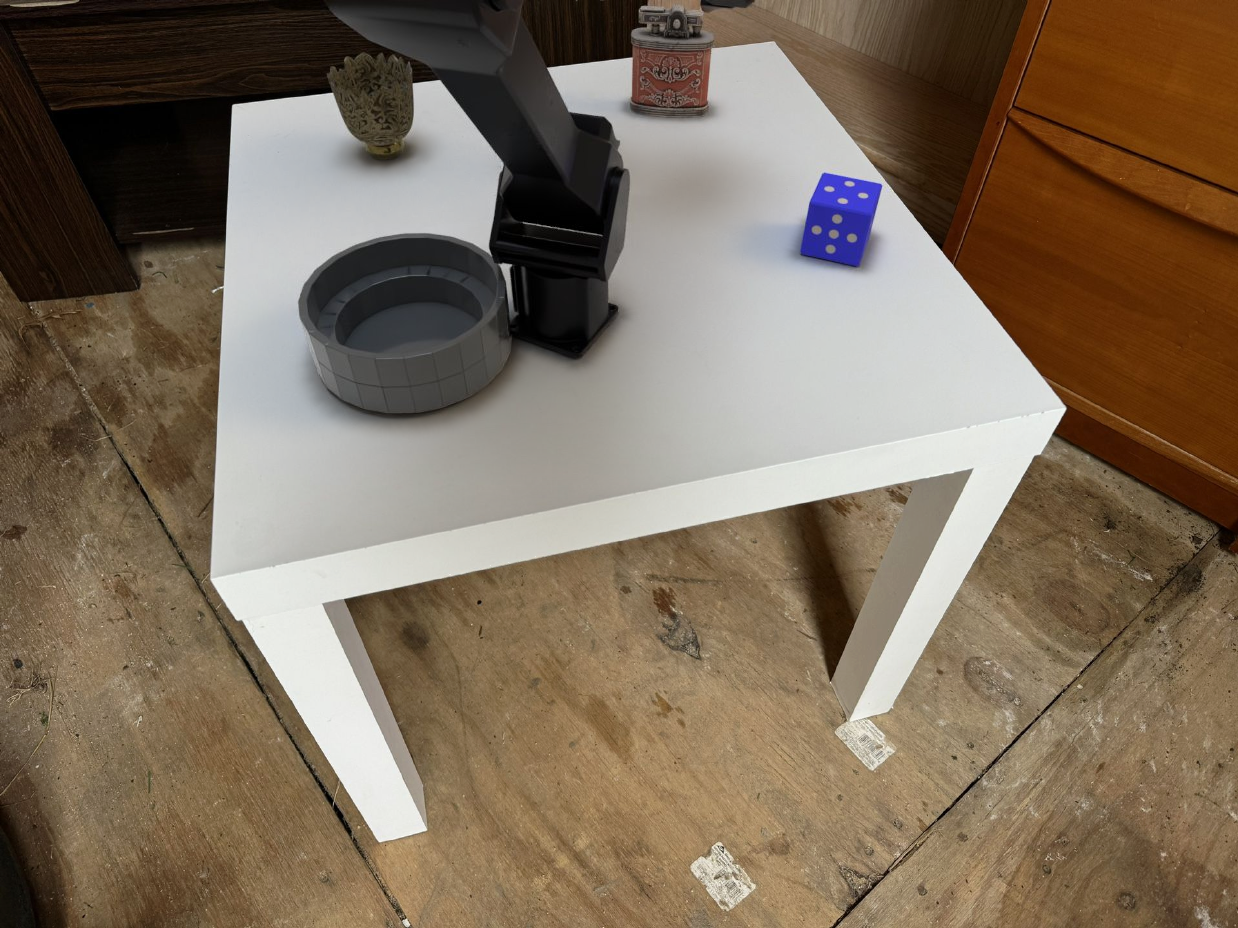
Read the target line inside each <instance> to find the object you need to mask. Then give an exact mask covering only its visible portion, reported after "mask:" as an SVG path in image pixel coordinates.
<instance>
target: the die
mask: <svg viewBox="0 0 1238 928" xmlns="http://www.w3.org/2000/svg"><path fill="white" fill-rule="evenodd" d="M816 184H817V185H816V187H815V189H814V191H813V194H812V196H811V198H810V200H809V202H808V208H807V212H806V218H805V224H804V229H803V235H802V239H801V245H800V251H799V253H800V254H801V255H804V256H808V257H812V258H817V259H822V260H826V261H831V262H835V263H839V264H844V265H848V266H853V267H859V266H860V265H861V262H862V259H863V256H864V254H865V251H866V248H867V244H868V242H869V239H870V237H871V233H872V229H873V224H874V220H875V217H876V211H877V209H878V205H879V201H880V197H881V192H882V189H883V183H880V182H876V181H869V180H864V179H860V178H855V177H848V176H844V175H839V174H834V173H830V172H829V173H828V172H822V174H821V176H820V178H819V180H818V182H817V183H816Z"/></svg>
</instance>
